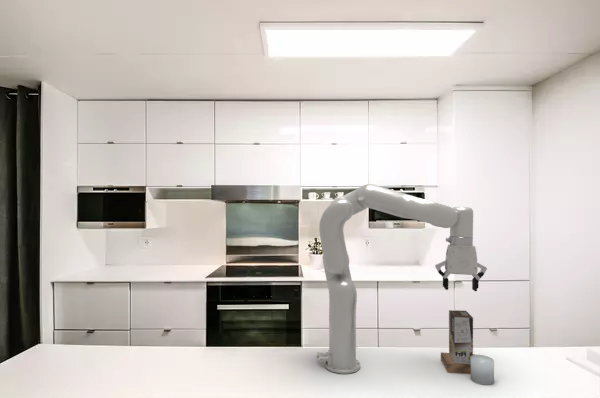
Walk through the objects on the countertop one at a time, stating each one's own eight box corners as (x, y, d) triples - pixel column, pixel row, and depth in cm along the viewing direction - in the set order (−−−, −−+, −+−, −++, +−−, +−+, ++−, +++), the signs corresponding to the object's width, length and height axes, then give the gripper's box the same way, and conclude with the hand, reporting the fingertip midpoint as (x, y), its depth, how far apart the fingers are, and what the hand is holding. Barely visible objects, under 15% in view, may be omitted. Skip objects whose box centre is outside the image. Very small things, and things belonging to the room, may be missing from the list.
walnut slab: (447, 372, 130) (447, 363, 130) (440, 360, 140) (440, 352, 140) (484, 374, 129) (484, 365, 129) (474, 362, 138) (474, 354, 139)
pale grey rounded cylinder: (474, 384, 122) (474, 362, 122) (467, 374, 129) (467, 354, 129) (497, 386, 121) (497, 364, 121) (489, 375, 128) (489, 355, 128)
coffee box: (473, 365, 129) (473, 317, 129) (453, 363, 130) (453, 316, 131) (467, 354, 138) (466, 310, 138) (448, 353, 139) (448, 309, 139)
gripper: (438, 241, 132) (437, 290, 132) (490, 243, 130) (489, 293, 130) (433, 239, 140) (432, 286, 139) (483, 241, 137) (482, 288, 137)
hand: (460, 289), depth 135 cm, fingers open, 9 cm apart
